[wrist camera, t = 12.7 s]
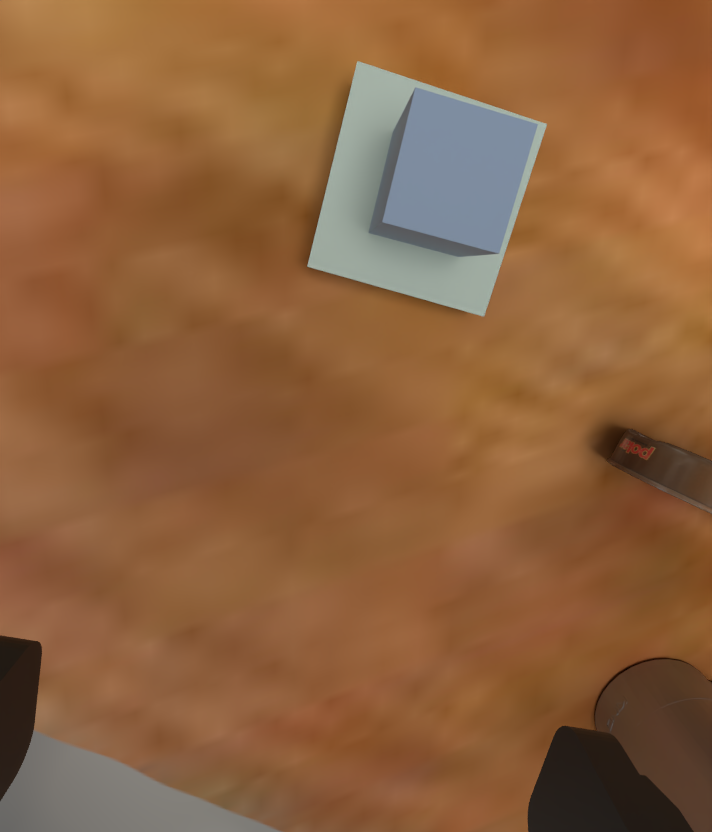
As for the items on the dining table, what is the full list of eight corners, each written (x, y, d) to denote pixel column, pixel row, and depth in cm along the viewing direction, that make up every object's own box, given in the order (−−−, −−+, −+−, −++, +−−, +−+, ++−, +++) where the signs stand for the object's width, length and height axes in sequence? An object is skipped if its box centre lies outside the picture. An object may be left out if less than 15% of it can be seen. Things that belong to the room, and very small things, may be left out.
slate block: (486, 158, 28) (537, 124, 21) (458, 257, 29) (499, 253, 23) (393, 131, 28) (415, 87, 21) (368, 232, 29) (382, 222, 22)
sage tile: (520, 141, 32) (546, 124, 28) (465, 311, 34) (483, 316, 30) (353, 87, 31) (357, 61, 27) (309, 266, 33) (307, 266, 29)
